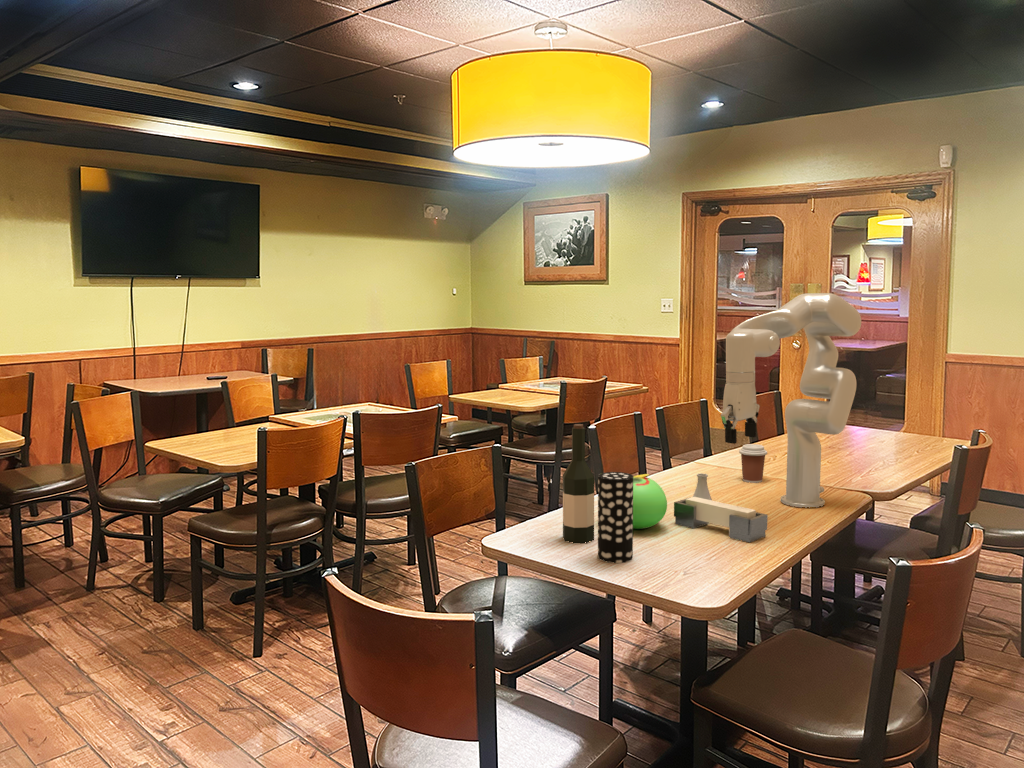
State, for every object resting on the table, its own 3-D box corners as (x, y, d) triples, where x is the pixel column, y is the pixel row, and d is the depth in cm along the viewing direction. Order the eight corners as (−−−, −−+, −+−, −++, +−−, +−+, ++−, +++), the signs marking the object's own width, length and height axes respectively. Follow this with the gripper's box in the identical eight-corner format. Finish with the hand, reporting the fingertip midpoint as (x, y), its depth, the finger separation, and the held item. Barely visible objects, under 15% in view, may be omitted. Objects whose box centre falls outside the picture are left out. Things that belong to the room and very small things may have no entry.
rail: (694, 514, 216) (694, 496, 215) (755, 528, 202) (755, 510, 201) (685, 516, 213) (685, 499, 213) (747, 531, 199) (747, 513, 198)
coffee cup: (739, 476, 269) (740, 442, 268) (767, 478, 266) (768, 444, 265) (737, 482, 261) (738, 447, 259) (765, 484, 257) (766, 449, 256)
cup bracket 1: (689, 518, 219) (690, 497, 218) (709, 523, 214) (709, 501, 213) (673, 523, 214) (674, 502, 213) (693, 528, 209) (693, 506, 208)
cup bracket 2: (744, 531, 206) (745, 509, 205) (766, 537, 201) (767, 514, 200) (728, 537, 201) (729, 515, 200) (751, 543, 196) (751, 520, 195)
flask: (714, 511, 226) (715, 477, 225) (689, 510, 228) (690, 476, 226) (713, 504, 233) (714, 472, 232) (689, 503, 235) (689, 471, 234)
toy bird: (676, 534, 204) (676, 480, 202) (614, 538, 201) (614, 483, 200) (652, 516, 222) (653, 465, 220) (595, 519, 219) (595, 468, 217)
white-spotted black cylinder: (594, 552, 190) (595, 472, 188) (628, 551, 191) (628, 471, 189) (601, 563, 182) (601, 480, 180) (636, 562, 183) (637, 479, 181)
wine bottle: (597, 535, 204) (598, 423, 200) (590, 545, 196) (590, 428, 193) (567, 532, 206) (566, 421, 203) (558, 542, 198) (558, 426, 195)
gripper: (745, 373, 217) (745, 432, 220) (710, 380, 206) (710, 443, 208) (770, 374, 212) (770, 436, 214) (734, 382, 200) (735, 447, 203)
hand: (740, 439), depth 211 cm, fingers open, 9 cm apart
